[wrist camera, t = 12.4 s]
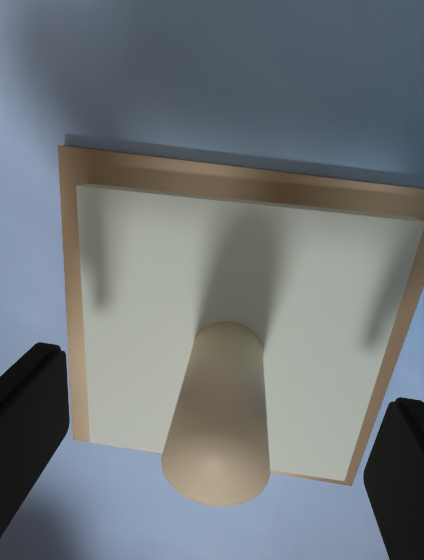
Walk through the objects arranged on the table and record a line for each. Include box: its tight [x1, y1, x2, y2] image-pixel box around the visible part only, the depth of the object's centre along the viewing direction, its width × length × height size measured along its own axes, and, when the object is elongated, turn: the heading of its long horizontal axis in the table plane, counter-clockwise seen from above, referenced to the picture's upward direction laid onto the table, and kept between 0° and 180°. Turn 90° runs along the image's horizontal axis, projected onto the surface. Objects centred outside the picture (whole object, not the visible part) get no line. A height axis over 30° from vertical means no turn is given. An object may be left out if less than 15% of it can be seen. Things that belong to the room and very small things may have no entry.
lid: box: [76, 183, 424, 506], centre depth 11 cm, size 11×11×6 cm
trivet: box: [58, 146, 424, 486], centre depth 14 cm, size 13×13×1 cm
